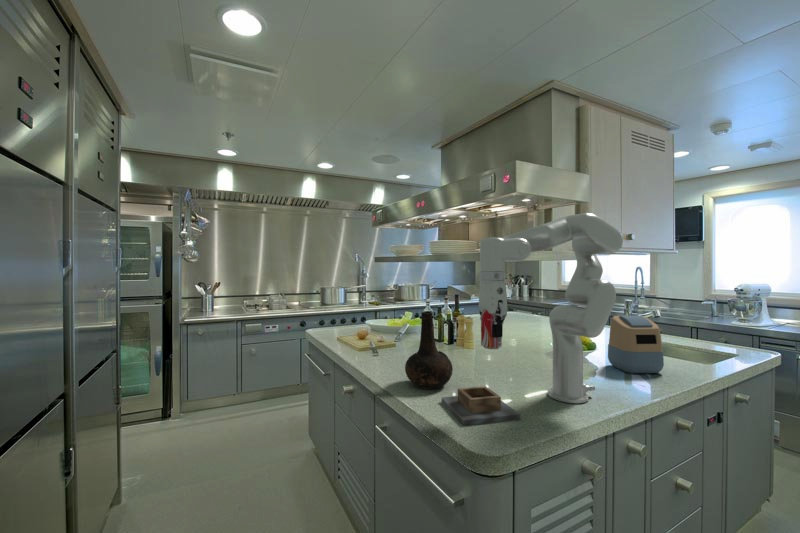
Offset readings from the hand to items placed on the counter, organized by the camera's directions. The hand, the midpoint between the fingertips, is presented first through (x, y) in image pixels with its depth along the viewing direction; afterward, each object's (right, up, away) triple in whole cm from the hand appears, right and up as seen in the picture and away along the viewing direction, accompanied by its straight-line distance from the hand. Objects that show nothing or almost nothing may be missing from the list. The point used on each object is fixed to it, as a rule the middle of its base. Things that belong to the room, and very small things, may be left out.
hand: (491, 334), depth 108 cm
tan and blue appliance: (+75, -24, +45) cm, 90 cm away
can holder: (-4, -24, +1) cm, 24 cm away
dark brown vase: (-17, -24, +25) cm, 39 cm away
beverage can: (0, -4, 0) cm, 4 cm away
